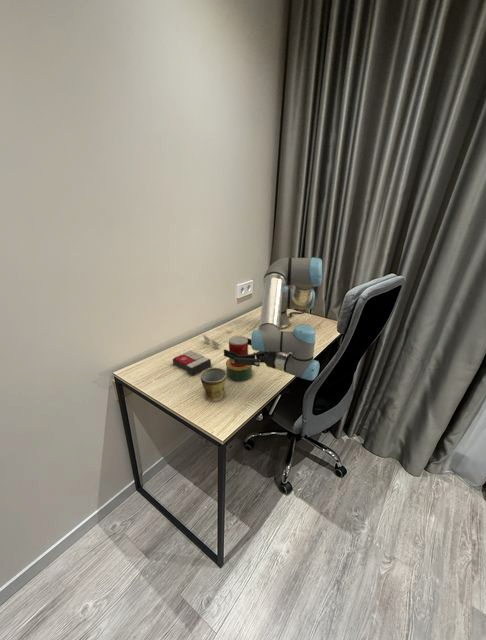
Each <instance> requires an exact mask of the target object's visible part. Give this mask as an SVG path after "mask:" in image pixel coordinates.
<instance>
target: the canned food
mask: <svg viewBox="0 0 486 640" xmlns="http://www.w3.org/2000/svg"><path fill="white" fill-rule="evenodd" d="M247 338H248V337H246V336H243V335H234V336H231V337H230V338H228V351H231V352H234V353H237V354H238V355H246V354H249V345H248V339H247ZM229 359H230V358H229ZM230 363H231V365H233V366H236V367H242V366H245V365H238V364H234V360H233V359H230Z"/></svg>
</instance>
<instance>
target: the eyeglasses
mask: <svg viewBox="0 0 486 640" xmlns="http://www.w3.org/2000/svg"><path fill="white" fill-rule="evenodd" d="M217 331H226V332H227V333H231V331H230V330H228V329H226V328H225V329H224V328H220V329H217V330H216V332H217ZM212 333H213V331H211V332H209V333H207V335H210V334H212ZM207 335H206V334H202V337H203V340H204V342H205V343H206V344H210V343H212V346H213V347H214V349H219V347H220V346H222V345H223V344H224V342H221V343H219V342H218V341H216V340H214V339H210V338H209V336H207ZM227 342H228V343H229V340H228V341H226V343H227Z"/></svg>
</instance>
